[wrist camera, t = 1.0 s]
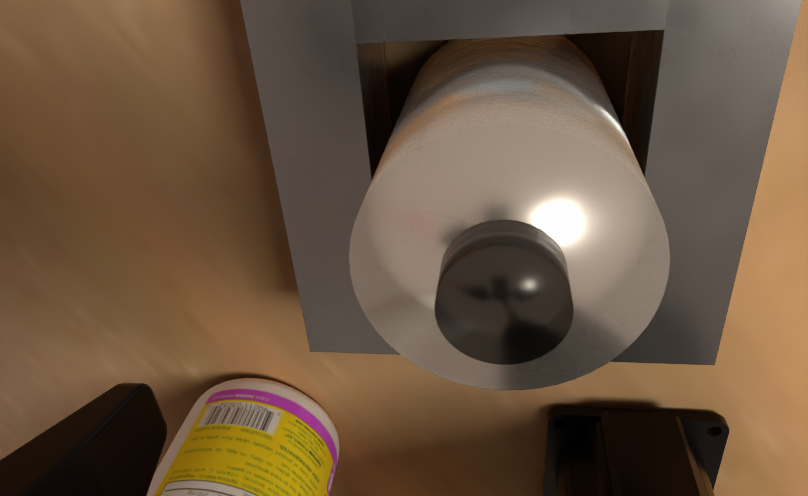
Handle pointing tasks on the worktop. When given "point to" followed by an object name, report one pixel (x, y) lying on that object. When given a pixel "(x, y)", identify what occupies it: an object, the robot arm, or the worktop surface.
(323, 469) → the supplement bottle
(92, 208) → the worktop surface
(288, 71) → the frame
